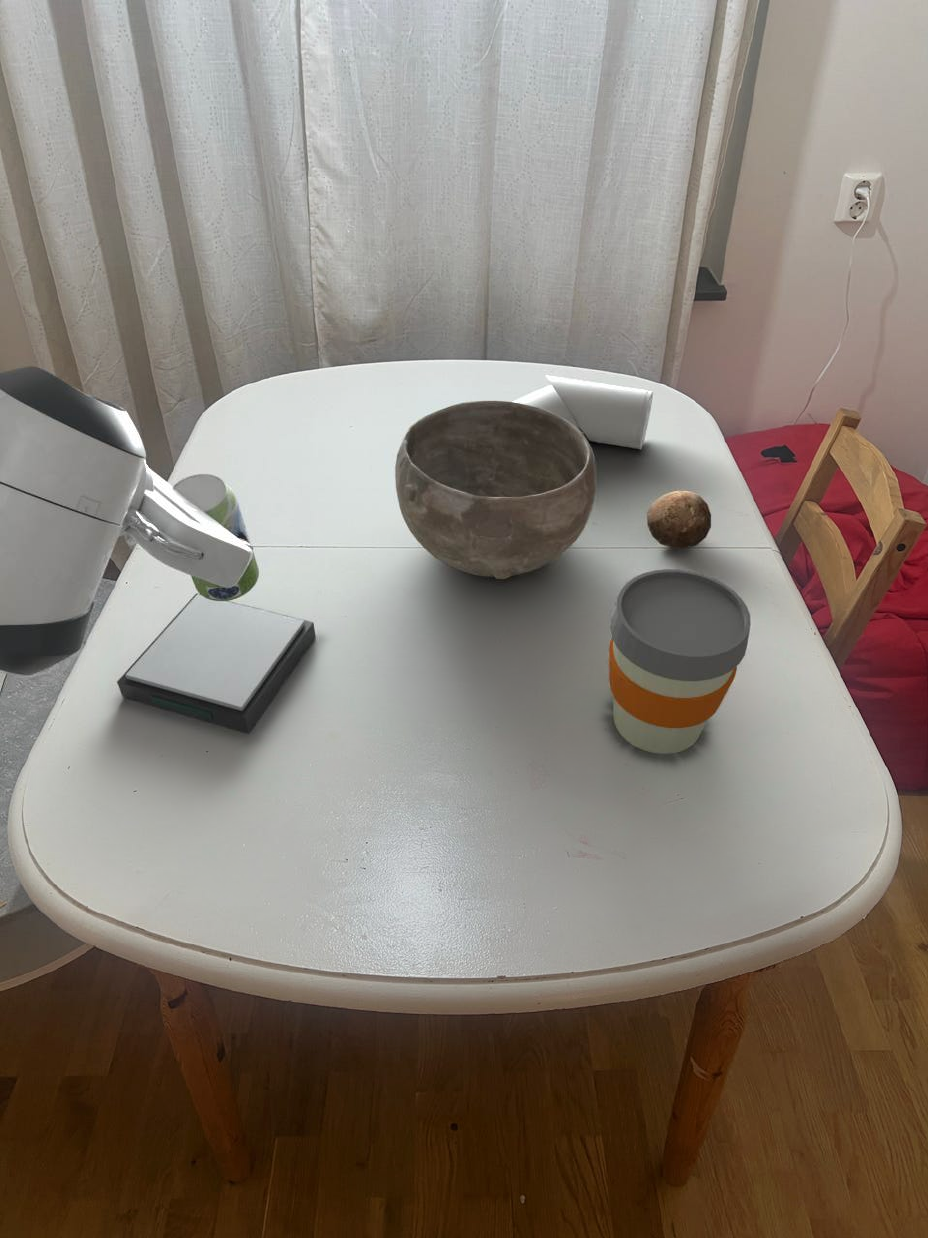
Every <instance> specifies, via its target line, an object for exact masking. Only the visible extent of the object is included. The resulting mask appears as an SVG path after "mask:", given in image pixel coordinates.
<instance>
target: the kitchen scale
mask: <svg viewBox="0 0 928 1238" xmlns="http://www.w3.org/2000/svg"><path fill="white" fill-rule="evenodd" d="M315 629H316V628H315V624H314V621H312V620H306V619H304V618H303V619H302V618H298V617H294V616H291V615H287V614H283V613H278V612H275V611H271V610H266V609H262V608H259V607H254V606H250V605H246V604H242V603H238V602H233V601H231V600H229V601H214V600H210V599H207V598H205V597H203V596H202V595H201V594H200V593H199V592H196V593H195V594H194V595H193V596H192V597H191V598H190V600H189V601H188V602H187V603H186V604H185V605H183V607H182V608H181V610H179V612H178V613H177V614H176V615H175V616H174V617H173V618H172V619H171V621H170V622H169V623H168V624H167V625H166V627H164V628H163V630H162V631H161V632H160V633H159V634H158V635H157V636H156V637H155V638H154V640H153V641H152V642H151V643H150V644H149V645H148V647H147V648H145V650H144V651H143V652H142V653H141V654H140V656H138V658H137V659H136V660H135V661H134V662H133V663H132V664H131V665H130V667H128V669H127V670H126V671H125V672H124V673H123V674H122V676H120V678H119V679H118V680H117V681H116V683H117V686H118V689H119V691H120V694H121V697H122V698H123V699H126V700H130V701H134V702H137V703H140V704H144V705H148V706H151V707H154V708H158V709H161V710H164V711H168V712H171V713H175V714H178V715H183V716H186V717H188V718H192V719H196V720H199V721H202V722H206V723H209V724H214V725H216V726H220V727H224V728H228V729H230V730H234V731H238V732H241V733H245V734H248V735H249V734H251V732H252V731H253V729H254V727H255V726H256V725H257V723H258V722H259V720H260V719H261V718H262V716H263V715H264V713H265V712H266V710H267V709H268V707H269V706H270V705H271V703H273V702H272V701H273V700H274V699H275V698H276V696H277V694H278V693H279V692H280V690H281V689H282V687H283V686H284V684H285V683H286V681H288V679H289V677H290V676H291V674H292V673H293V671H294V670H295V669H296V667H297V666H298V665H299V663H300V661H301V660H302V658H303V657H304V656H305V654H306V653H307V652H308V650H309V648H310V647H311V645H312V644H313V643H314V641H315V640H316V638H317V636H316V630H315Z"/></svg>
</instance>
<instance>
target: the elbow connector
mask: <svg viewBox="0 0 928 1238" xmlns="http://www.w3.org/2000/svg"><path fill="white" fill-rule="evenodd" d="M545 377H546V378H547V381H549V383H550V384H549V385H547V386H545V387H543V388H540V389H538V390H535V391H533V392H531V393H529V394H527V395H524V396H523V397H520V398H518V399H516V400H514V401H512V402H516V403H521V404H525V405H530V406H533V407H537V408H540V409H543V410H547V411H550V412H552V413H554V414H556V415H558V416H560V417H562V418H563V419H565V420H567V421H568V422H570V423H571V424H572V425H574V426H575V427H576V428H577V429H578V430H579V431H580V432H581V433H582V434H584V436H585V437H586V438H587V440H588V441H590V442H595V443H599V444H606V445H611V446H612V445H613V446H618V447H624V448H631V449H637V450H642V449H643V446H644V442H645V438H646V435H647V430H648V426H649V421H650V415H651V409H652V404H653V396H654V392H653V390H646V389H641V388H632V387H626V386H620V385H613V384H608V383H607V384H606V383H599V382H593V381H587V380H586V381H585V380H578V379H572V378H566V377H558V376H553V375H545Z"/></svg>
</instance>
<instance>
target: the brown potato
mask: <svg viewBox="0 0 928 1238" xmlns="http://www.w3.org/2000/svg"><path fill="white" fill-rule="evenodd" d="M646 520H647V525H646V526H647V528H648V530H649V532H650V534H651V537H652V538H653V539H654V540H656V541H657V542H658V543H659V544H660V545H661V546H665V547H667V548H670V549H687V548H693V547H696V546H698V545H699V544H700V543H701V542H702V541H704V540H705V539H706V538H707V536H708V534H709V533H710V530H711V528H712V513H711V510H710V507H709V505H708V503H707V501H705V499H703V497H702V496H701V495H700V494H697V493H695V492H692V491H689V490H675V491H672V492H668V493H665V494H663V495H661V496H660V497H658V498H657V499H656V500H654V501H653V502H652V503H651V506H650V507H649V509H648V510H647V512H646Z"/></svg>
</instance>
